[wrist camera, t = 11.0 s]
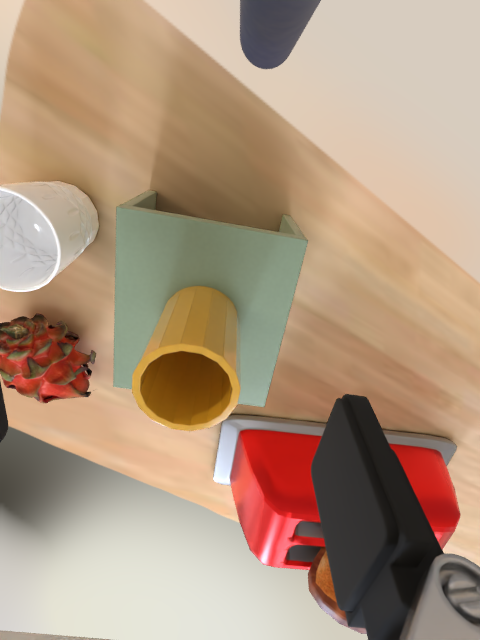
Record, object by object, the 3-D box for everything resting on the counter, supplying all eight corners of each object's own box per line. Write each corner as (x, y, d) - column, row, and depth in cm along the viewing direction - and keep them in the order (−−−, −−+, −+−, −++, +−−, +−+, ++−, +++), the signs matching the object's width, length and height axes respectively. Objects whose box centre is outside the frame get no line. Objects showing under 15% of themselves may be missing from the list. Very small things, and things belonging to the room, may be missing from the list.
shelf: (148, 189, 34) (116, 206, 25) (290, 215, 35) (308, 240, 26) (140, 333, 41) (113, 386, 32) (258, 351, 42) (264, 407, 33)
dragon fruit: (28, 290, 40) (105, 356, 46) (-36, 346, 38) (54, 408, 44) (35, 299, 33) (124, 375, 39) (-43, 367, 31) (65, 437, 37)
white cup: (109, 257, 37) (68, 294, 28) (33, 254, 37) (-34, 289, 28) (100, 176, 33) (49, 188, 24) (15, 171, 33) (-68, 182, 24)
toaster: (455, 436, 48) (571, 593, 31) (421, 498, 54) (503, 659, 37) (223, 410, 46) (214, 564, 29) (212, 477, 52) (199, 638, 35)
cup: (164, 279, 27) (134, 336, 19) (245, 292, 28) (248, 353, 20) (158, 349, 30) (129, 423, 22) (232, 359, 31) (230, 436, 23)
